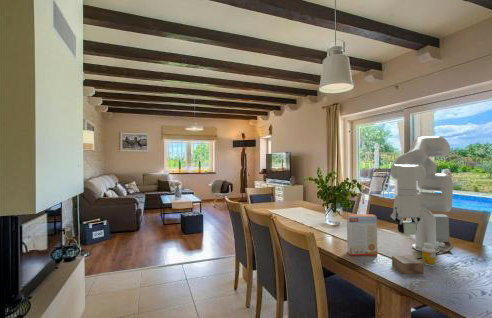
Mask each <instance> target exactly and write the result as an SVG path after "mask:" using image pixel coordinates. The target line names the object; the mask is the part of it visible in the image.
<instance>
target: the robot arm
mask: <svg viewBox="0 0 492 318" xmlns="http://www.w3.org/2000/svg"><path fill="white" fill-rule="evenodd" d="M450 152H451V145H450V143H449V141H448V140H447V139H446V138H445V137H443V136H440V135H434V136H433V135H432V136H420V137H417V138H415V139H414V140H413V141H412V144H411V146H410V148H409V151H408V152H406V153H404V154H402V155H400V156H397V158H396V159H395V160H393V162H392V163H393V164H392V166H391V168H390V176H391V178H392V179H394V180H396V181H397V182H396V185H397V186H396V187H397V191H396V192H397V193H396V194H395V197H394V200H393V212H392V213H391V214H390V218H392V220H394V221H395V223H396V224H397V231H398V232H399V233H401V234H402V233H404V225H403V224H402V223H403V221H405V220H404V219H410V221H411V222H414V223H416V235H415V237H414V239H415V243H412V245H411V248H413V249H414V250H416V251H419V252H422V248H423V247H424V243H432V244H434V249H435V251H436V253H437V254H438V253H439V252H440V248H439V247H445V246H446V244H445V243H446V242H436V219H435V216H434V215H433V214H434V213H433V212H432V211H436V212H446V213H447V212H450V211H451V210H452V208H453V194H454V193H453V192H454V190H453V187H454V183H453V182H454V181H453V178H452V177H451V175H449V174H447V173H446V174H445V173H437V164H436V163H435V161H434V160H433V159H431V157H432V158H433V157H435V158H442V157H443V158H445V157H448V156H449V154H450ZM417 187H418V189H417ZM420 190H422V191H420ZM428 191H430V192H428ZM431 191H433V192H431ZM434 191H436V192H434ZM438 192H439V193H438ZM440 192H441V193H440Z"/></svg>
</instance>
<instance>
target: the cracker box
mask: <svg viewBox="0 0 492 318" xmlns="http://www.w3.org/2000/svg"><path fill="white" fill-rule="evenodd" d="M346 243H347V245H346V246H347V247H346V248H347V249H346V250H347V253H348V254H349V256H364V257H366V256H369V257H377V256H378V217H377V216H376V214H373V213H372V214H370V213H369V214H367V213H366V214H365V213H363V214H361V213H360V214H358V213H356V214H355V213H351V214H350V213H347V214H346Z"/></svg>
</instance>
